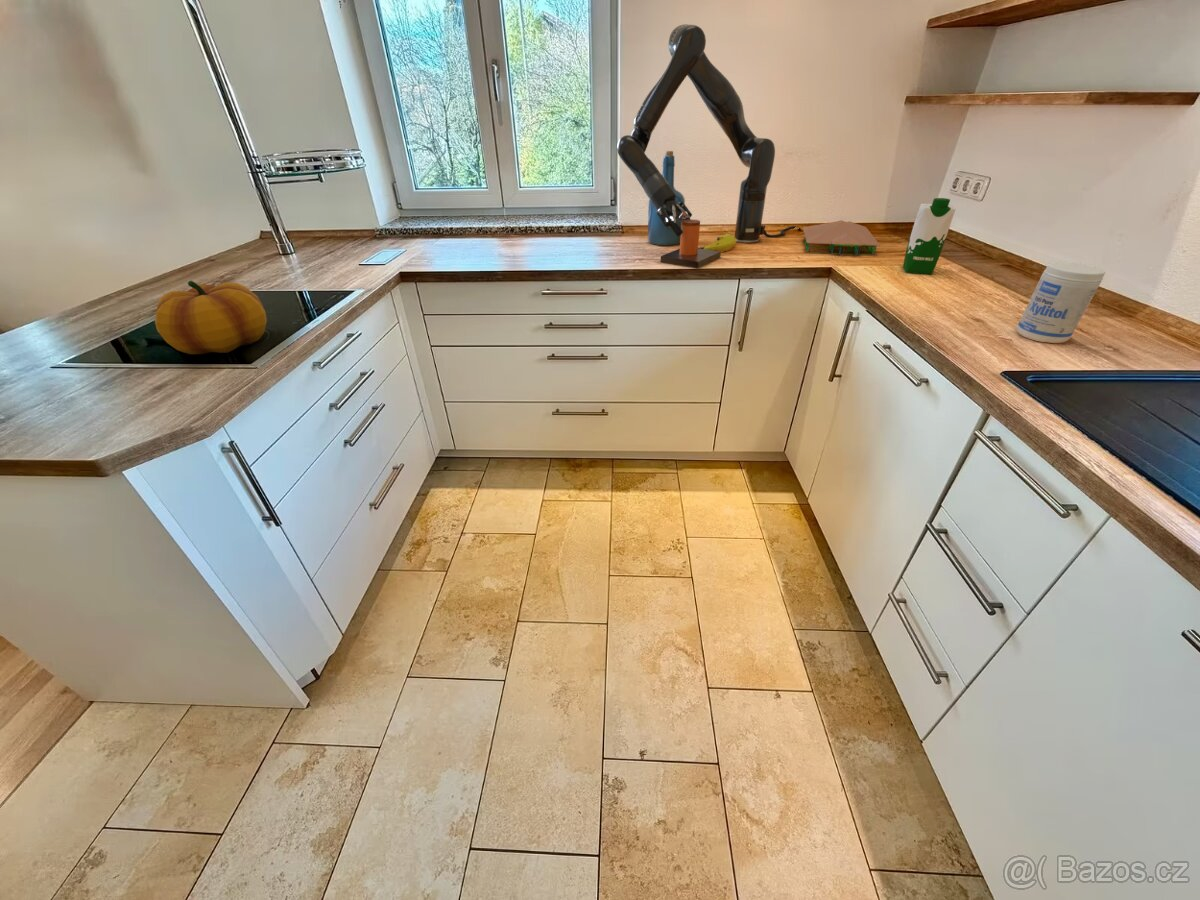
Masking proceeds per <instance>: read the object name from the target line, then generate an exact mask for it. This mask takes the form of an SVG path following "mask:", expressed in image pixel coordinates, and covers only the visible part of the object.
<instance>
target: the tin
mask: <svg viewBox="0 0 1200 900" xmlns="http://www.w3.org/2000/svg"><path fill="white" fill-rule="evenodd" d="M700 228H701V221H700V220H699V219H691V220H683V221H681V229H682V231H683V233H682V234H681V237H680V243H679V249H680V254H681V255H687V256H690V255H696V254H698V248H699V240H700V231H701V229H700Z"/></svg>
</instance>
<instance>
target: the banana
mask: <svg viewBox="0 0 1200 900" xmlns="http://www.w3.org/2000/svg"><path fill="white" fill-rule="evenodd" d="M736 243H738V242H737V239H736V238H735V235H732V234H731V233H724V234H723V235H720V236H718V237H717V239H716V241H715V242H712V243H709V244H707V245H705V246H700V247H698V248H699V249H706V250H713V251H721V253H725V252H728V251H731V249H732V248H733V247H734V246H735V245H736Z"/></svg>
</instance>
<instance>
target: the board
mask: <svg viewBox="0 0 1200 900" xmlns="http://www.w3.org/2000/svg"><path fill="white" fill-rule="evenodd" d="M699 248H700V247H698V254H696V255H690V256H687V255H681V254H680V248H677V249H675V250H672V251H670V252H667V253H665V254H662V255H660V263H661V264H669V265H675V266H682V267H688V268H694V269H700V268H702V267H703V266H706V265H708V264H710V263H712V262H715V261H716V260H718V259H721V254H722V252H721V251H713V250H706V249H699Z"/></svg>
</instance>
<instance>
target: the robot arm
mask: <svg viewBox="0 0 1200 900" xmlns="http://www.w3.org/2000/svg"><path fill="white" fill-rule="evenodd" d="M706 41H707V39H706V35H705V32H704V30H703V29H702V28H701V27H700V26H698V25H696V24H687V23H684V24H679V25H678V26H676V27H675V28H674V29H672V31H671V33H670V35H669V38H668V51H669V54H670V56H671V58H670V61H669V63H668V65H667V67H666V69H665V70H664V72H663V74H662V75H661V77H660V78H659V79H658V80H657V82H656V83H655V84H654V85H653V87H652V88H651V90H650V91H649V93H648V94H647V95H646V96H645V98H644V100H643V101H642V104H641V105H640V107H639V109H638V111H637V113H636V114H635V117H634V119H633V129H632V131H631V135H629V134H626V135H623V136H621V138H619V139H618V142H617V145H616V150H617V154H618V156H619V158H620V159H621V161H622V163H624V165H625V166H626V167H627V168H628V169H629V171H631V172H632V174H633V175H634V177H635V179H636V180H637V181H638V183H639V184H640V186H641V187H642V189H643V191H644V193H645V194H646V196H647V198H648V200H649V199H650V200H651V202H652V203H653V205H654V206H655V208H656V209H657V210H658V211H657V212H656V213H657V215H658V216H659V218H660V219H661V221H662V222H663V224H664V225H665V227H668V226H669V227H670V228H672V229H673V231H674V232H675V234H676V235H677V236H678V237H679V236H680V235H681V234H682V233H683V231H682V229H681V228H680V227H679V225H678V224H677V223H676V219H678V220H681V221H683V220H692V219H691V218H692V216H693V213H692V212H691V211H690V209H689V208H688V206H686V203H685V204H684V203H683V202H682V201H681V202H680V203H677V202H676V201H675V198H676V194H675V192H674V191H673V189H672V188H671V186H670V185H669V183H668V182H667V180H666V179H665V178H664V176H663V175H662V173H661V171H660V170H659V169H658V168H657V166H656V164H655V163H654V162H653V161H652V159H650V158H649V157H648V155H646V151H647V148H648V145H649V143H650V141H651V137H652V134H653V132H654V130H655V129H656V128H657V125H658V123H659V122H660V119H661V118H662V116H663V114H664V112H665V110H666V109H667V108H668V106H669V104H670V102H671V100H672V98H673V97H674V96H675V94H676V92H677V91H678V89H679V88H680V86H681V85H682V83H683V82H684V80H685V79H686V78H687V77H688V79H690V81H691V83H692V84H693V86H694V87H695V89H696V91H697V93H698V94H699V96H700V98H701V100H702V101H703V103H704V105H705V107H706V108H707V110H708V111H709V112H710V114H711V115H712V117H713V118H714V120H715V121H716V123H717V124H718V126H719V127H720V129H721V130H722V131H723V133H724V134H725V135H726V137H727V138H728V139H729V142H730V143H731V145H732V147H733V149H734V150H735V153H736V155H737V157H738V159H739V161H740V162H741V163H742V165H743V166H745V167H746V168H749V170H748V175H747V176H746V178H745V179H743V180H742V181H741V182H740V186H739V187H740V188H739V195H738V202H737V203H738V204H737V213H736V220H735V229H734V237H735V238H736V239H737V242H736V243H741V244H754V243H758V242H760V238H761V237H760V236H763V235H764V236H765V237H767V238H780V237H785V235H786V232H788V231H790V230H795V229H794V228H795V227H796V226H797V225H792V226H789V227H785V228H783V229H781V230H780V233H777V234H769V233H767V231H766V225H764V224H762V223H763V216H764V209H765V203H766V196H767V191H768V190H767V189H768V185H769V184H770V182H771V179H772V174H773V168H774V163H775V157H776V147H775V143H774V141H772V139H770V138H767V137H758V136H756V134H754V132H753V131H752V129H750V127H749V125H748V124H747V121H746V119H745V112H744V105H743V102H742V100H741V98H740V96H739V94H738V92H737V91H736V89H735V88H734V86H733V84H732V83H731V81H729V79H728V78H727V77H726V76H725V75H724V73H722V72H721V71H720V70H719V69H718V68H717V67H716V66H715V65H714V64H713V62H711V60H710V59H709V57H708V56H707V54H706V52H705V49H706V43H707V42H706ZM683 217H684V218H683ZM665 218H666V221H665ZM796 230H797V231H798V232H802V229H801V227H799V229H796Z"/></svg>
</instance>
